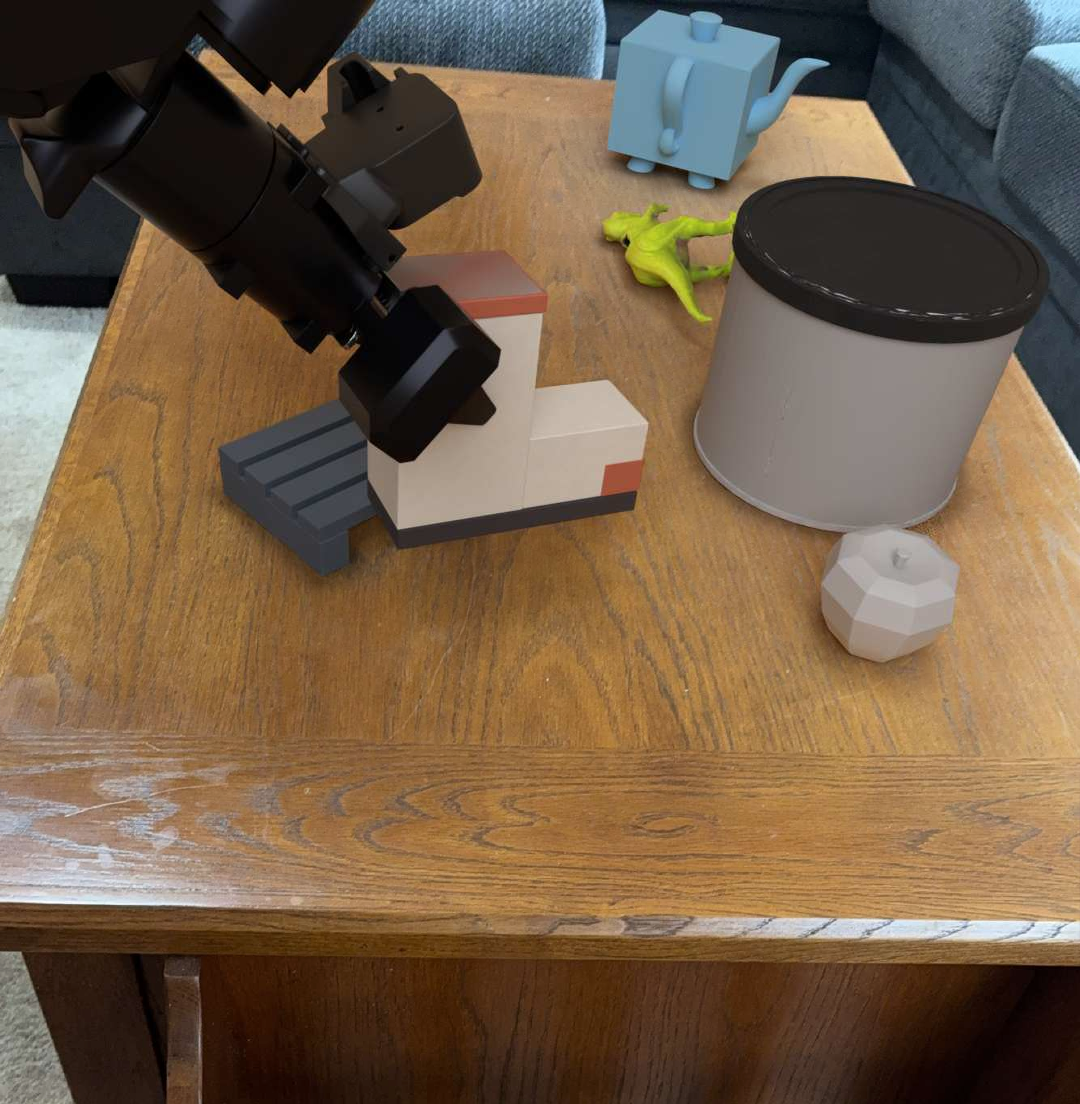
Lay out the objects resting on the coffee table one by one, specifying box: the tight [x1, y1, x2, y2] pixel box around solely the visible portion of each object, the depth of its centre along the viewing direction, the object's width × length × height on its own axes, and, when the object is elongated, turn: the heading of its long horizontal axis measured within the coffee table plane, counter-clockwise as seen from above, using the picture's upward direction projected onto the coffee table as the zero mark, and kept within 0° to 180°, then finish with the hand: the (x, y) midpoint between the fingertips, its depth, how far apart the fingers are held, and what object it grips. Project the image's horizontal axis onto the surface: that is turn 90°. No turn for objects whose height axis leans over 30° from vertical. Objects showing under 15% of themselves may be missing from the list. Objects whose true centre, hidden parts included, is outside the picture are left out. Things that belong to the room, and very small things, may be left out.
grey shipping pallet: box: [217, 397, 378, 577], centre depth 69 cm, size 16×10×4 cm, turn 135°
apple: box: [820, 524, 960, 664], centre depth 62 cm, size 8×8×7 cm
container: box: [692, 175, 1051, 534], centre depth 72 cm, size 19×19×15 cm
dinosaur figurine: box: [601, 202, 738, 324], centre depth 91 cm, size 20×10×6 cm, turn 29°
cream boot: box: [367, 249, 650, 551], centre depth 57 cm, size 14×5×13 cm, turn 114°
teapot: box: [606, 9, 831, 190], centre depth 104 cm, size 18×16×13 cm
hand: (464, 387), depth 56 cm, fingers closed on cream boot, 5 cm apart
